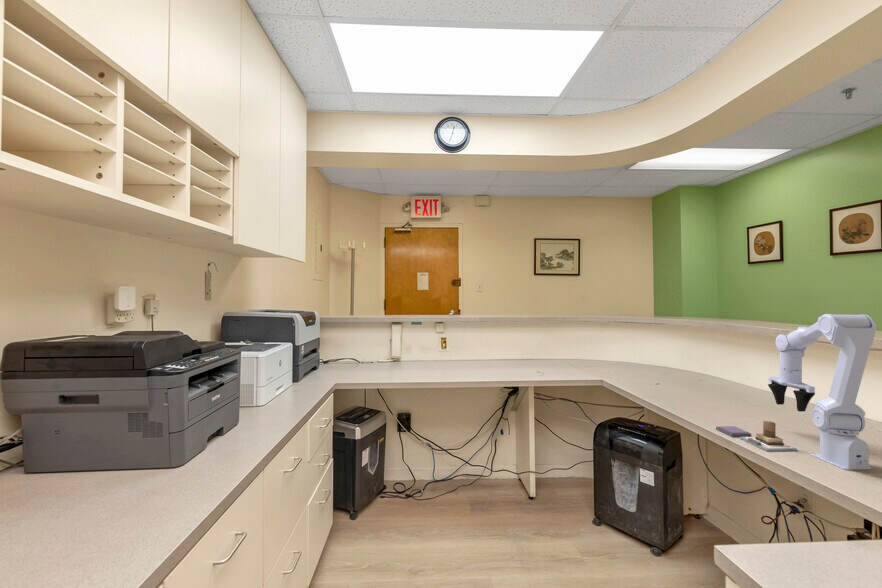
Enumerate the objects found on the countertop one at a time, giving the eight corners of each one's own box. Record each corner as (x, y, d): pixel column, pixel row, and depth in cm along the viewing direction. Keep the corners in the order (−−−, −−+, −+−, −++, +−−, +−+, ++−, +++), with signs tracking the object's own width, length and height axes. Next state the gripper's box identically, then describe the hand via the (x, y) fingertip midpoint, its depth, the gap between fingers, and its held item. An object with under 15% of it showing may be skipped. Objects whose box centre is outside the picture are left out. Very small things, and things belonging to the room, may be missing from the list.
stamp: (784, 445, 118) (784, 425, 118) (768, 445, 118) (768, 425, 118) (770, 439, 123) (770, 419, 123) (755, 439, 123) (755, 419, 123)
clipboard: (797, 450, 116) (797, 446, 116) (766, 451, 116) (766, 446, 116) (768, 438, 126) (768, 434, 126) (739, 438, 126) (739, 434, 126)
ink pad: (751, 436, 127) (751, 433, 127) (731, 436, 127) (731, 433, 127) (734, 429, 134) (734, 425, 134) (716, 429, 134) (716, 426, 134)
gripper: (760, 365, 136) (760, 401, 136) (800, 373, 122) (800, 414, 122) (779, 364, 136) (779, 401, 137) (821, 373, 122) (820, 414, 122)
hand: (790, 407), depth 129 cm, fingers open, 7 cm apart
